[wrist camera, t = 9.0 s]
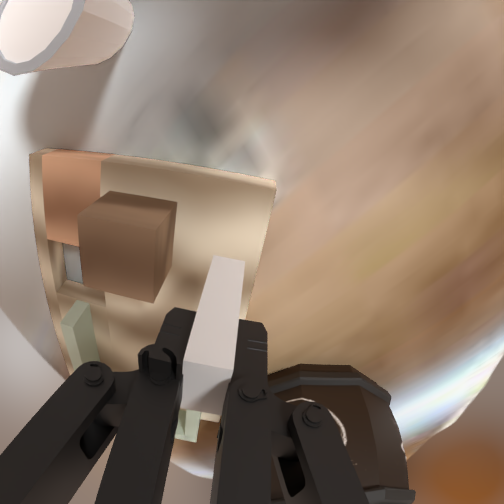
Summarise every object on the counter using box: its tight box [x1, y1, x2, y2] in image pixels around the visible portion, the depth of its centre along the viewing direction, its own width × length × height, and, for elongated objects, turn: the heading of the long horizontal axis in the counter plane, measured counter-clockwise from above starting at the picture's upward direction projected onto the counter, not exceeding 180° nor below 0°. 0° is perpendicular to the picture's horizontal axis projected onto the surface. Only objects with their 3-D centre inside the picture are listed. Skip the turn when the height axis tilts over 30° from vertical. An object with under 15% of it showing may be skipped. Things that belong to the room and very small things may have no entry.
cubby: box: [60, 300, 201, 442], centre depth 24 cm, size 14×12×3 cm
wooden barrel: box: [267, 364, 415, 504], centre depth 23 cm, size 18×18×16 cm
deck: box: [29, 148, 276, 422], centre depth 23 cm, size 25×17×2 cm
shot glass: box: [0, 0, 135, 76], centre depth 11 cm, size 7×7×7 cm
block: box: [77, 191, 177, 304], centre depth 17 cm, size 4×4×4 cm
